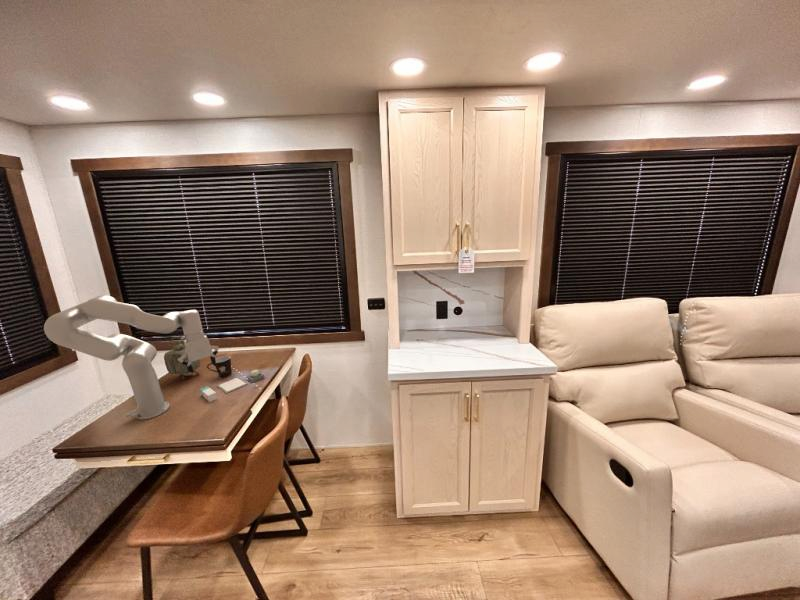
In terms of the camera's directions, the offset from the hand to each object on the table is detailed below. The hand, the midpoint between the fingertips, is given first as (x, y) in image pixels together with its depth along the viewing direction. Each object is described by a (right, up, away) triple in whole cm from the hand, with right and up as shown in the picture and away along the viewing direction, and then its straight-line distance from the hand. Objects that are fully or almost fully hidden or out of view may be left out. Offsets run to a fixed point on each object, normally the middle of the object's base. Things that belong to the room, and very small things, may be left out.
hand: (203, 368), depth 149 cm
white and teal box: (0, -16, +5) cm, 16 cm away
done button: (+16, -9, +20) cm, 27 cm away
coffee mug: (-6, -10, +28) cm, 30 cm away
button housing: (+16, -10, +20) cm, 28 cm away
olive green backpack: (-28, -12, +28) cm, 41 cm away
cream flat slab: (+6, -12, +15) cm, 20 cm away
